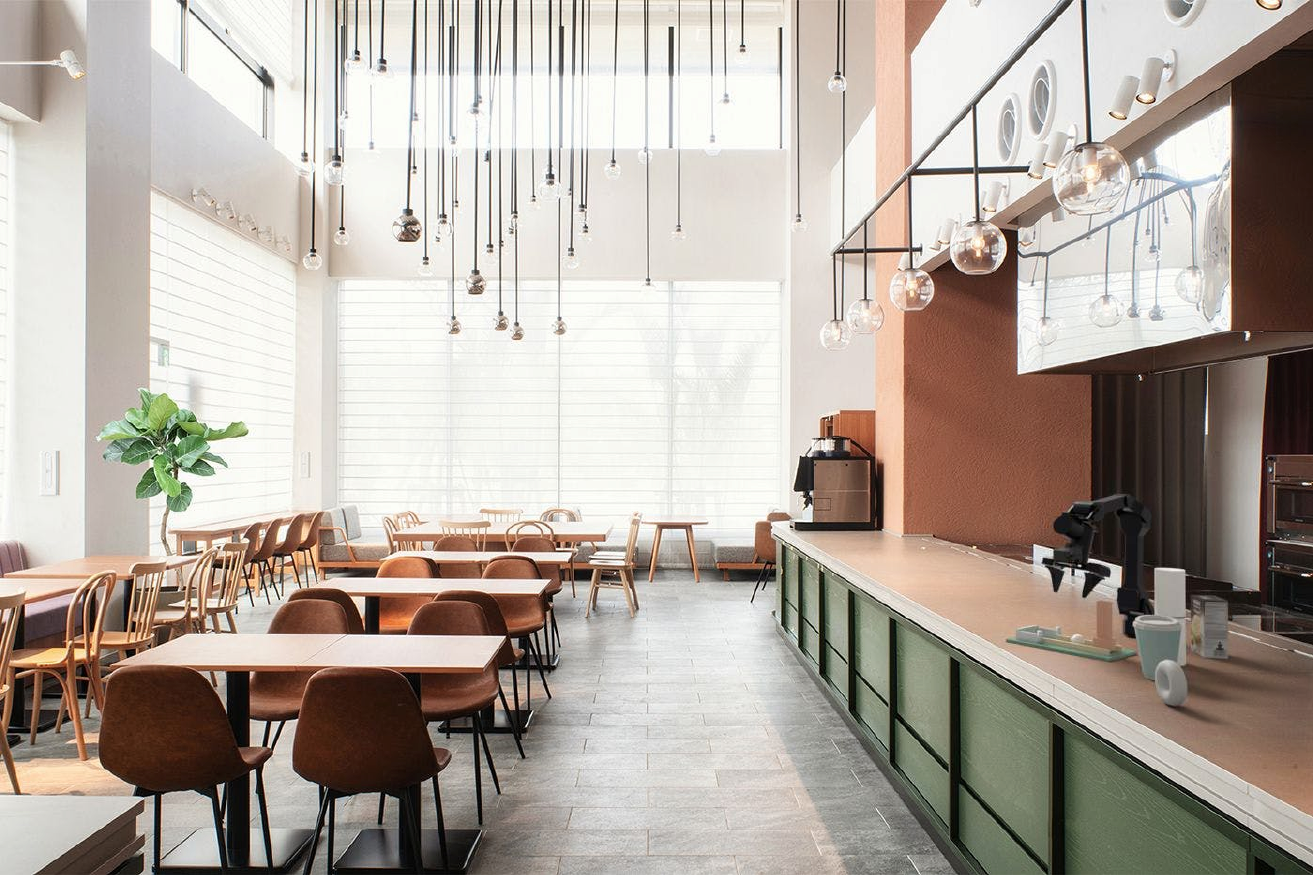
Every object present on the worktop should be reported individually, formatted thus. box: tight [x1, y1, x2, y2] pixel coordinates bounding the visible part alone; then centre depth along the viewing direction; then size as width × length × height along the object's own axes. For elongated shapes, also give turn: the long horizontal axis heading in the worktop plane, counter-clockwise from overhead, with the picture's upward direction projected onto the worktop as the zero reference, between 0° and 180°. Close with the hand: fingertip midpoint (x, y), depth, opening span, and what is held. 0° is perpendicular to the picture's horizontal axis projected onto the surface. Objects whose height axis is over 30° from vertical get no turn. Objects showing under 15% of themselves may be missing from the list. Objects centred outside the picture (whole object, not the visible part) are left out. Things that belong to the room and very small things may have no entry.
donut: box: [1154, 660, 1188, 707], centre depth 189 cm, size 10×4×10 cm, turn 174°
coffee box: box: [1190, 594, 1229, 660], centre depth 238 cm, size 9×6×16 cm
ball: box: [1071, 633, 1085, 645], centre depth 244 cm, size 4×4×4 cm
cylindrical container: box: [1153, 567, 1187, 667], centre depth 229 cm, size 7×7×25 cm
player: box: [1092, 600, 1117, 652], centre depth 238 cm, size 6×4×14 cm, turn 127°
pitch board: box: [1005, 634, 1138, 663], centre depth 245 cm, size 16×30×2 cm, turn 37°
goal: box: [1015, 624, 1062, 644], centre depth 253 cm, size 12×8×4 cm
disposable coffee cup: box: [1133, 615, 1182, 681], centre depth 212 cm, size 11×11×15 cm
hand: (1069, 595), depth 246 cm, fingers open, 9 cm apart
